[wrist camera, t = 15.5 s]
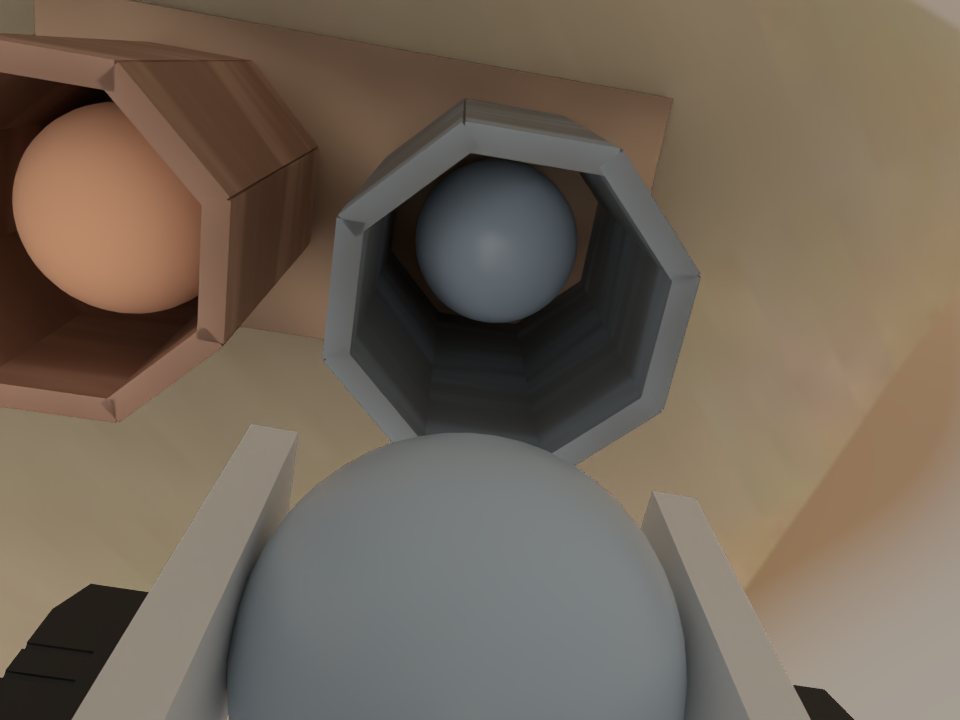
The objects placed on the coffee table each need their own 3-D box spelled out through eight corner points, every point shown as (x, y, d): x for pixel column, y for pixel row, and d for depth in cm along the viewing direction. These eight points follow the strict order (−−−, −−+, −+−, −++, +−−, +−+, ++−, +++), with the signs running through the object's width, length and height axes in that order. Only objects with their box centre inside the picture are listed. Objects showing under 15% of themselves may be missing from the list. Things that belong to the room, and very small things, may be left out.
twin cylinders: (-122, -45, 28) (-563, -124, 16) (667, 97, 31) (798, 122, 18) (-90, 268, 33) (-419, 391, 20) (600, 372, 35) (671, 539, 23)
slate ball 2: (307, 336, 12) (162, 575, 6) (677, 403, 12) (847, 678, 7) (270, 641, 14) (136, 1022, 8) (588, 688, 14) (662, 1080, 9)
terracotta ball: (-37, 88, 21) (96, 71, 18) (156, 126, 26) (285, 117, 23) (-29, 308, 22) (100, 328, 19) (157, 302, 27) (282, 317, 24)
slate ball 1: (431, 138, 30) (423, 156, 24) (580, 164, 30) (606, 187, 25) (410, 284, 32) (398, 331, 27) (551, 306, 33) (568, 358, 27)
